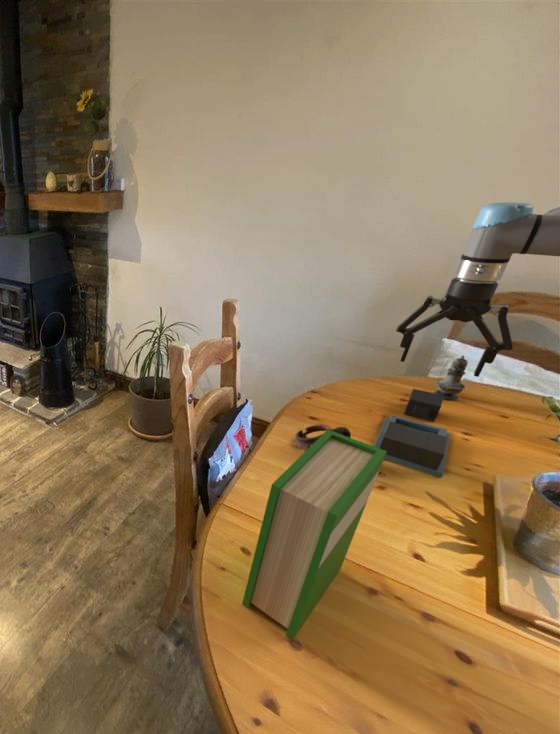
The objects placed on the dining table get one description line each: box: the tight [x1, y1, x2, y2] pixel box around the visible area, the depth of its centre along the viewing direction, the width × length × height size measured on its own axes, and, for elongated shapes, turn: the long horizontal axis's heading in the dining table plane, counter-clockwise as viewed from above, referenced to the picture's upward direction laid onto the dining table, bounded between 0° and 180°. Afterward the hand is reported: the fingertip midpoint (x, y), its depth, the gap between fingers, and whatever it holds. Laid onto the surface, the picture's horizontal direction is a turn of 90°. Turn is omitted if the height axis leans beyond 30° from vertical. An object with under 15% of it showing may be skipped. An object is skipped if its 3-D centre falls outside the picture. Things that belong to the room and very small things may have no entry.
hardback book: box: [241, 430, 387, 641], centre depth 61 cm, size 18×7×24 cm, turn 129°
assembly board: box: [373, 414, 451, 479], centre depth 94 cm, size 12×18×5 cm, turn 136°
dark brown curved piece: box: [294, 423, 352, 452], centre depth 93 cm, size 12×10×8 cm
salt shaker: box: [432, 355, 469, 402], centre depth 110 cm, size 6×6×12 cm
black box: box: [403, 388, 444, 423], centre depth 105 cm, size 6×8×4 cm
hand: (437, 366), depth 101 cm, fingers open, 13 cm apart
